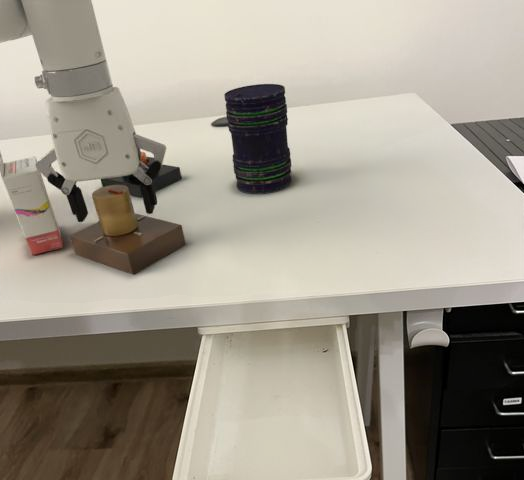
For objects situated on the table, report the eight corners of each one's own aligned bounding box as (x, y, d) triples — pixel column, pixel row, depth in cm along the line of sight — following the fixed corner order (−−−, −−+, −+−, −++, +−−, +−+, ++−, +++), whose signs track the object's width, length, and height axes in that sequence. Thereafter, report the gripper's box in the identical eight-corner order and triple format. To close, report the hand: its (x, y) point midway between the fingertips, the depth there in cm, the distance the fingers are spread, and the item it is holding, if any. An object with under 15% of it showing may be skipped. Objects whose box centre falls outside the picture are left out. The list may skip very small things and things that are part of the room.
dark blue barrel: (271, 169, 101) (263, 81, 92) (304, 182, 94) (298, 87, 85) (225, 184, 97) (212, 94, 88) (255, 199, 90) (244, 101, 81)
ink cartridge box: (65, 248, 82) (30, 148, 74) (31, 256, 81) (-8, 156, 72) (60, 228, 89) (28, 134, 80) (29, 235, 88) (-8, 141, 79)
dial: (95, 232, 78) (83, 192, 75) (122, 219, 81) (112, 180, 78) (117, 238, 75) (106, 198, 72) (145, 224, 78) (135, 185, 75)
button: (124, 166, 100) (121, 156, 99) (138, 160, 102) (136, 150, 101) (136, 169, 98) (134, 159, 97) (151, 162, 100) (149, 153, 99)
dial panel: (75, 254, 80) (68, 234, 78) (127, 228, 86) (122, 208, 84) (133, 274, 73) (127, 253, 71) (185, 244, 79) (181, 223, 77)
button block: (103, 189, 102) (97, 167, 100) (143, 171, 108) (138, 151, 106) (141, 197, 96) (136, 175, 94) (182, 178, 102) (177, 157, 100)
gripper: (-1, 97, 64) (49, 232, 74) (145, 78, 63) (175, 217, 74) (20, 84, 70) (64, 211, 80) (153, 67, 70) (180, 197, 80)
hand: (117, 214), depth 77 cm, fingers open, 9 cm apart
